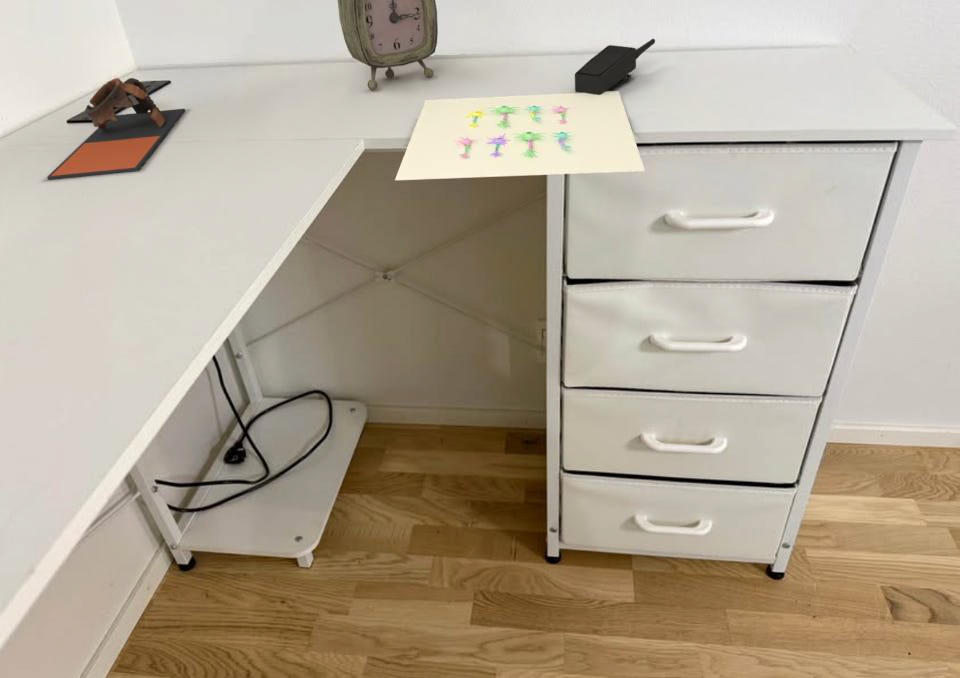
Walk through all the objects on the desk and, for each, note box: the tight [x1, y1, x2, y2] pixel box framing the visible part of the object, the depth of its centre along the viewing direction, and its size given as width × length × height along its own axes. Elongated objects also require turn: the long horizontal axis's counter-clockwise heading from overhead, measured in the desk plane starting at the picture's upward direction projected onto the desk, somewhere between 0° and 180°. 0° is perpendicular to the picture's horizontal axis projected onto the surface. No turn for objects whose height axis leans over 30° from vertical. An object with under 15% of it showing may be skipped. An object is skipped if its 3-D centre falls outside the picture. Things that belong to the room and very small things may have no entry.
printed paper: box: [394, 90, 646, 181], centre depth 93 cm, size 30×30×2 cm
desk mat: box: [46, 108, 186, 181], centre depth 102 cm, size 12×26×1 cm, turn 6°
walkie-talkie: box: [574, 38, 656, 95], centre depth 109 cm, size 6×6×20 cm
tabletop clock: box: [337, 0, 439, 91], centre depth 112 cm, size 14×9×25 cm, turn 120°
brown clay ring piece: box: [84, 77, 165, 130], centre depth 105 cm, size 12×10×8 cm
